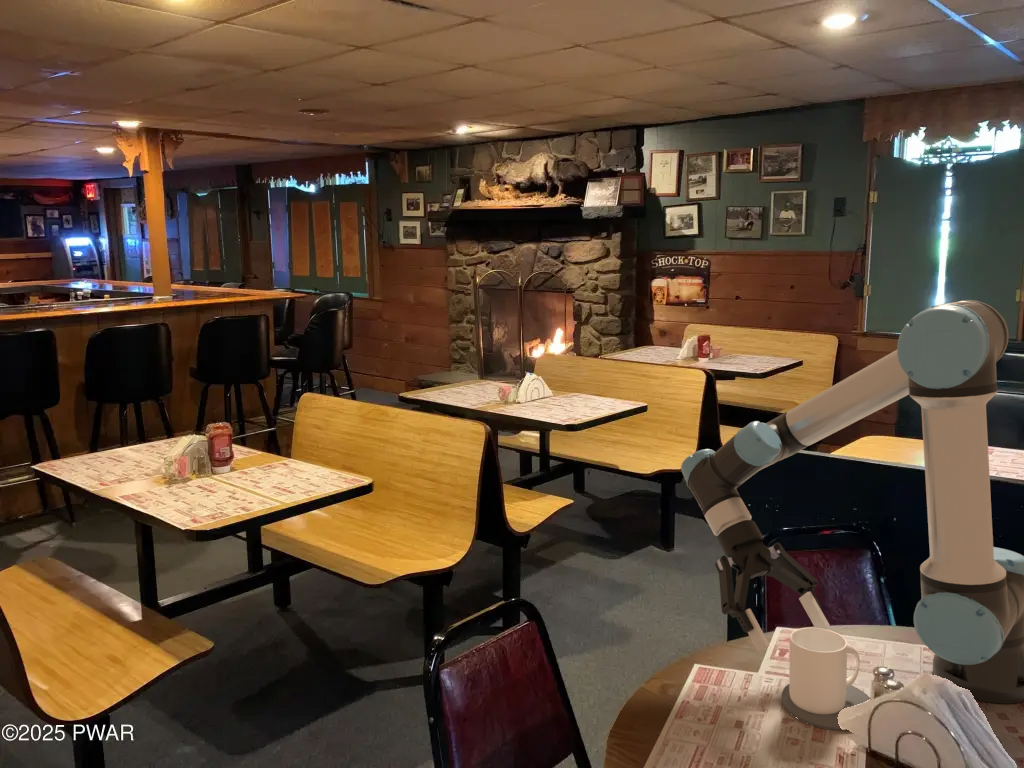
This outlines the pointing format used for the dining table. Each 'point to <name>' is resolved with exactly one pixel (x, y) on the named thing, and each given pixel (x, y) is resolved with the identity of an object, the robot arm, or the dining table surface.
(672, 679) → the dining table surface
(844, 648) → the mug
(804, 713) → the coaster mat
